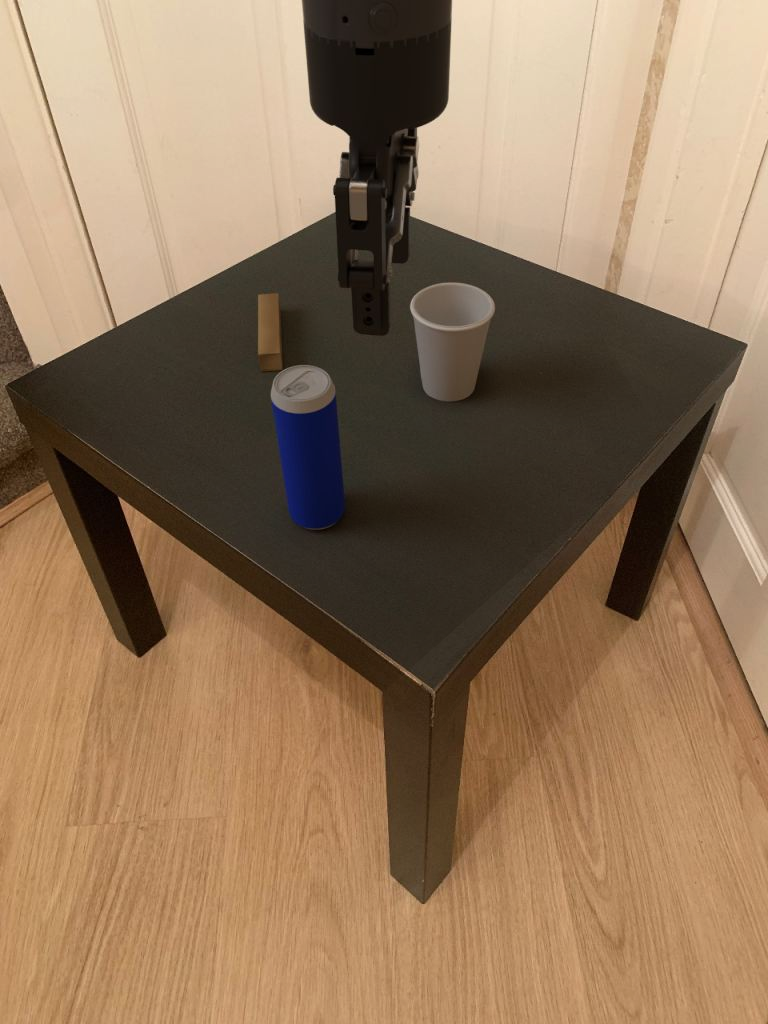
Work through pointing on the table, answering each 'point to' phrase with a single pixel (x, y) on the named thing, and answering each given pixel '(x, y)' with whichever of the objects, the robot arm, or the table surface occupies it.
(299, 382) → the beverage can
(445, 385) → the dixie cup
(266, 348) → the stick
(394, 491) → the table surface
